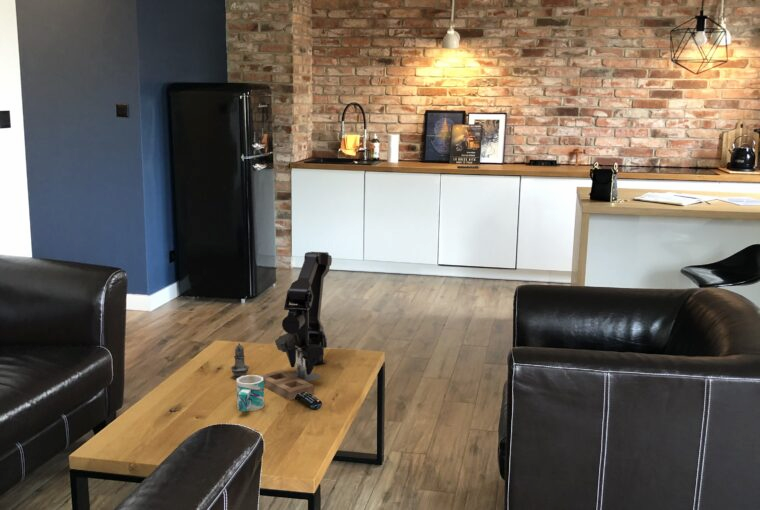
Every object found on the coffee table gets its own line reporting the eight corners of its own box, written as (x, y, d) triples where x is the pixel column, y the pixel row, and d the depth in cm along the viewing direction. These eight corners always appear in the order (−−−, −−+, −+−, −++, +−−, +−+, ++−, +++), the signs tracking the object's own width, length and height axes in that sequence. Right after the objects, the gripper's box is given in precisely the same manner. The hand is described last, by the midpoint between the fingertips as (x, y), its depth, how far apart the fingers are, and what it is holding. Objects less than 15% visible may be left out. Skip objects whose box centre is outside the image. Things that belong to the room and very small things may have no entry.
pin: (301, 375, 267) (301, 348, 265) (307, 378, 265) (306, 350, 263) (294, 377, 265) (293, 350, 263) (299, 380, 263) (299, 352, 261)
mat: (305, 370, 273) (305, 369, 273) (322, 378, 266) (322, 377, 266) (280, 376, 267) (280, 375, 267) (297, 385, 260) (297, 384, 260)
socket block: (258, 384, 260) (258, 375, 259) (282, 378, 265) (282, 369, 265) (289, 401, 246) (289, 391, 246) (314, 394, 252) (313, 385, 251)
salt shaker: (251, 375, 268) (250, 340, 266) (246, 381, 262) (245, 346, 260) (233, 374, 269) (232, 339, 266) (228, 380, 263) (227, 345, 261)
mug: (267, 401, 246) (266, 375, 244) (256, 416, 234) (256, 389, 233) (241, 400, 247) (240, 373, 245) (229, 415, 235) (228, 388, 234)
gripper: (263, 322, 263) (264, 368, 267) (295, 336, 249) (295, 384, 253) (291, 316, 270) (292, 361, 274) (324, 329, 256) (325, 376, 260)
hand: (300, 370), depth 265 cm, fingers open, 9 cm apart
